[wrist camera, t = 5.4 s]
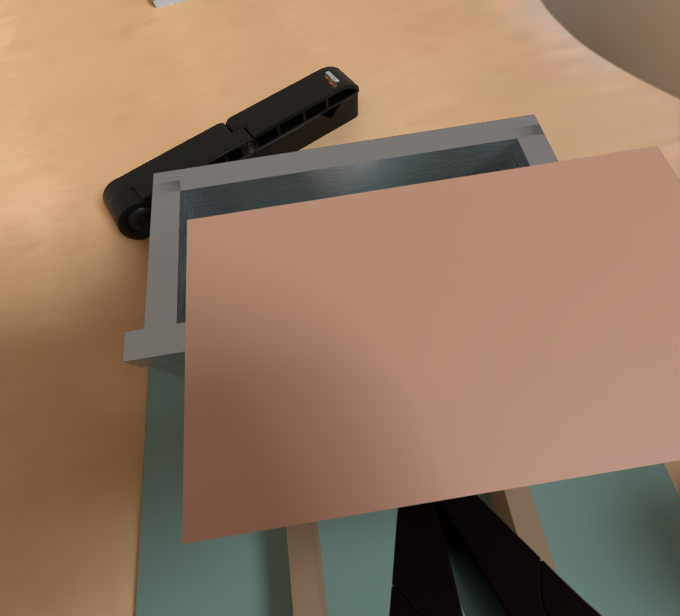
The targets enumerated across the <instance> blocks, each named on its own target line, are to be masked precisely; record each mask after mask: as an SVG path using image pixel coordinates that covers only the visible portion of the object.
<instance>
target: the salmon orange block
mask: <svg viewBox="0 0 680 616" xmlns="http://www.w3.org/2000/svg"><path fill="white" fill-rule="evenodd" d="M678 460H680V180H679V178H678V177H677V175H676V174H675V172H674V171H673V169H672V168H671V166H670V165H669V163H668V162H667V160H666V159H665V157H664V156H663V154H662V153H661V151H660V150H659V148H658V147H657V146H655V147H649V148H642V149H636V150H630V151H623V152H617V153H611V154H604V155H598V156H591V157H585V158H579V159H572V160H566V161H560V162H553V163H547V164H541V165H534V166H528V167H521V168H515V169H509V170H502V171H496V172H490V173H483V174H477V175H471V176H464V177H458V178H451V179H445V180H439V181H432V182H426V183H420V184H413V185H407V186H401V187H394V188H388V189H381V190H375V191H369V192H362V193H356V194H350V195H343V196H337V197H331V198H324V199H318V200H311V201H305V202H299V203H292V204H286V205H280V206H273V207H267V208H261V209H254V210H248V211H241V212H235V213H229V214H222V215H216V216H210V217H203V218H197V219H191V220H187V263H186V329H185V394H184V459H183V524H182V544H186V543H192V542H198V541H204V540H209V539H215V538H221V537H227V536H233V535H239V534H245V533H251V532H257V531H263V530H269V529H275V528H281V527H287V526H293V525H298V524H304V523H310V522H316V521H322V520H328V519H334V518H340V517H346V516H352V515H358V514H364V513H370V512H376V511H382V510H387V509H393V508H399V507H405V506H411V505H417V504H423V503H429V502H435V501H441V500H447V499H453V498H459V497H465V496H470V495H476V494H482V493H488V492H494V491H500V490H506V489H512V488H518V487H524V486H530V485H536V484H542V483H548V482H554V481H559V480H565V479H571V478H577V477H583V476H589V475H595V474H601V473H607V472H613V471H619V470H625V469H631V468H637V467H643V466H648V465H654V464H660V463H666V462H672V461H678Z"/></svg>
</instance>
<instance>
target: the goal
mask: <svg viewBox="0 0 680 616" xmlns="http://www.w3.org/2000/svg"><path fill="white" fill-rule="evenodd" d="M553 162H558V160H557V158H556V156H555V154H554V152H553V150H552V148H551V146H550V144H549V142H548V140H547V138H546V136H545V135H544V133H543V131H542V129H541V127H540V125H539V123H538V121H537V119H536V117H535V115H528V116H521V117H515V118H508V119H502V120H495V121H489V122H482V123H476V124H470V125H463V126H457V127H450V128H444V129H437V130H431V131H424V132H418V133H412V134H405V135H399V136H392V137H386V138H379V139H373V140H367V141H360V142H354V143H347V144H341V145H334V146H328V147H321V148H315V149H309V150H302V151H296V152H289V153H283V154H276V155H270V156H264V157H257V158H251V159H244V160H238V161H231V162H225V163H218V164H212V165H206V166H199V167H193V168H186V169H180V170H173V171H167V172H161V173H154V176H153V192H152V208H151V224H150V240H149V256H148V271H147V287H146V303H145V319H144V329H140V330H134V331H128V332H125V336H124V348H123V360H122V362H126V363H129V364H132V365H136V366H139V367H146V366H148V367H151V368H155V369H158V370H161V371H164V372H167V373H171V374H174V375H177V376H180V377H183V378H185V329H186V263H187V220H191V219H197V218H203V217H210V216H216V215H222V214H229V213H235V212H241V211H248V210H254V209H261V208H267V207H273V206H280V205H286V204H292V203H299V202H305V201H311V200H318V199H324V198H331V197H337V196H343V195H350V194H356V193H362V192H369V191H375V190H381V189H388V188H394V187H401V186H407V185H413V184H420V183H426V182H432V181H439V180H445V179H451V178H458V177H464V176H471V175H477V174H483V173H490V172H496V171H502V170H509V169H515V168H521V167H528V166H534V165H541V164H547V163H553Z"/></svg>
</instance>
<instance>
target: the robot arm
mask: <svg viewBox="0 0 680 616" xmlns="http://www.w3.org/2000/svg"><path fill="white" fill-rule="evenodd" d="M460 604H461V605H460ZM461 607H462V609H463V612H464V614H465V616H602V615H601V614H600V613H599V612H597V611H596V610H595V609H594V608H593V607H592V606H591V605H589V604H588V603H587V602H586V601H585V600H584V599H583V598H582V597H581V596H580V595H579V594H577V593H576V592H575V591H574V590H573V589H572V588H571V587H570V586H569V585H568V584H567V583H566V582H565V581H564V580H563V579H562V578H561V577H560V576H559V575H558V574H557V573H556V572H555V571H554V570H553V569H552V568H551V567H550V566H549V565H548V564H547V563H546V562H545V561H541V558H540V557H539V556H538V555H537V554H536V553H535V552H534V551H533V550H532V549H531V548H530V547H529V546H528V545H527V544H526V543H525V542H524V541H523V540H522V539H521V538H520V537H519V536H518V535H517V534H516V533H515V532H514V531H513V530H512V529H511V528H510V527H509V526H508V525H507V524H506V523H505V522H504V521H503V520H502V519H501V518H500V517H499V516H498V515H497V514H496V513H495V512H494V511H493V510H492V509H491V508H490V507H489V506H488V505H487V504H486V503H485V502H484V501H483V500H482V499H481V498H480V497H479V496H478V495H477V494H476V495H470V496H465V497H459V498H453V499H447V500H441V501H435V502H429V503H423V504H417V505H411V506H405V507H399V508H397V521H396V534H395V548H394V561H393V574H392V588H391V598H390V610H389V616H463V613H462V609H461Z"/></svg>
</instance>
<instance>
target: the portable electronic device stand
mask: <svg viewBox="0 0 680 616" xmlns="http://www.w3.org/2000/svg"><path fill="white" fill-rule="evenodd" d="M358 92H359V87H358V86H357V85H356V84H355V83H354V82H353V81H352V80H351V79H350V78H348V77H347V76H346V75H345V74H344V73H343V72H342V71H341V70H339V69H338V68H336V67H325V68H322V69H320V70H318V71H316V72H314V73H312V74H311V75H309V76H307V77H305V78H303V79H301V80H299V81H297V82H296V83H294V84H292V85H290V86H288V87H286V88H284V89H283V90H281V91H279V92H277V93H275V94H273V95H271V96H269V97H268V98H266V99H264V100H262V101H260V102H258V103H256V104H254V105H253V106H251V107H249V108H247V109H245V110H243V111H241V112H239V113H238V114H236V115H234V116H232V117H230V118H229V119H228V120H227V122H226V125H225V124H224V123H219V124H217V125H215V126H213V127H211V128H209V129H208V130H206V131H204V132H202V133H200V134H198V135H196V136H195V137H193V138H191V139H189V140H187V141H185V142H184V143H182V144H180V145H178V146H176V147H174V148H173V149H171V150H169V151H167V152H165V153H163V154H161V155H160V156H158V157H156V158H154V159H152V160H150V161H149V162H147V163H145V164H143V165H141V166H139V167H138V168H136V169H134V170H132V171H130V172H128V173H126V174H125V175H123V176H121V177H119V178H117V179H115V180H113V181H112V182H111V183H109V184H108V186H107V187H106V188H105V190H104V193H103V200H104V203H105V205H106V207H107V208H108V210H109V212H110V214H111V216H112V217H113V219H114V221H115V223H116V225H117V226H118V228H119V230H120V231H121V233H122V234H123V235H125V236H126V237H129V238H131V239H136V240H144V239H146V238H148V237H150V224H151V208H152V192H153V176H154V173H161V172H167V171H173V170H180V169H186V168H193V167H199V166H206V165H212V164H218V163H225V162H231V161H238V160H244V159H251V158H257V157H264V156H270V155H276V154H283V153H289V152H296V151H298V150H300V149H302V148H304V147H305V146H307V145H309V144H311V143H312V142H314V141H316V140H317V139H319V138H321V137H323V136H324V135H326V134H328V133H330V132H331V131H333V130H335V129H337V128H338V127H340V126H342V125H343V124H345V123H347V122H349V121H350V120H352V119H354V118H355V117H357V115H358Z"/></svg>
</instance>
